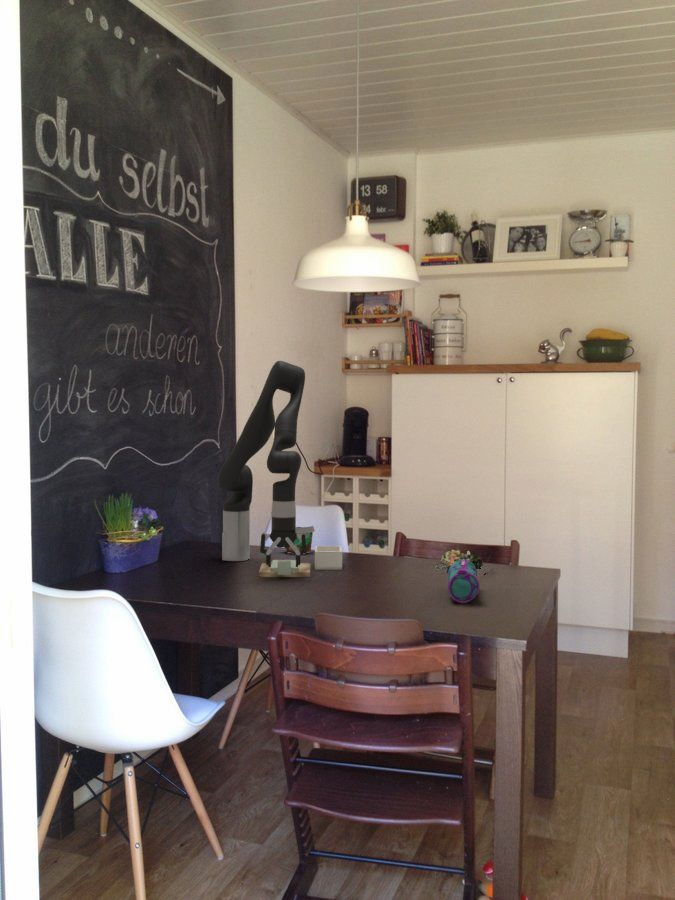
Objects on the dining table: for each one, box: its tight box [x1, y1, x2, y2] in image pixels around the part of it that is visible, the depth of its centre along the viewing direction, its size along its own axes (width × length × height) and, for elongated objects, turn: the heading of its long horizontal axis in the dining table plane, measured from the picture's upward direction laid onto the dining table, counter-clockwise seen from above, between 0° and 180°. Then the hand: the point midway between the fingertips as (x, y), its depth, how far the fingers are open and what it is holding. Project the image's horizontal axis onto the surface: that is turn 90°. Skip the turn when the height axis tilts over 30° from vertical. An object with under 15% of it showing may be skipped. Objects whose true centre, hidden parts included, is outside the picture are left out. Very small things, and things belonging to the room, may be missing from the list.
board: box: [258, 562, 311, 578], centre depth 274 cm, size 16×16×2 cm
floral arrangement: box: [432, 542, 484, 571], centre depth 285 cm, size 35×28×7 cm
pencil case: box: [446, 559, 481, 604], centre depth 240 cm, size 21×9×10 cm, turn 174°
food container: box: [284, 525, 316, 553], centre depth 309 cm, size 12×6×10 cm, turn 88°
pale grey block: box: [270, 559, 300, 575], centre depth 271 cm, size 9×19×4 cm, turn 1°
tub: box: [314, 545, 343, 571], centre depth 284 cm, size 9×12×6 cm
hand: (283, 566), depth 264 cm, fingers open, 8 cm apart
